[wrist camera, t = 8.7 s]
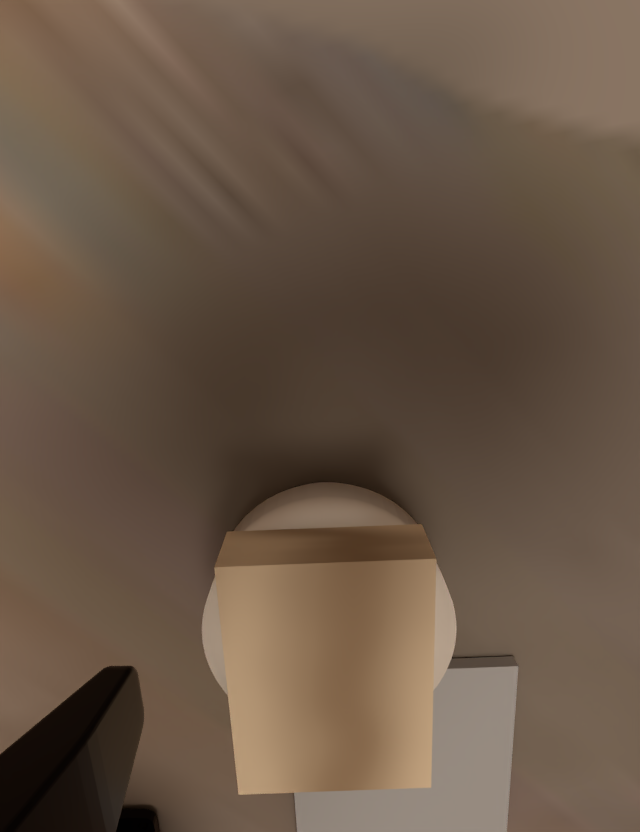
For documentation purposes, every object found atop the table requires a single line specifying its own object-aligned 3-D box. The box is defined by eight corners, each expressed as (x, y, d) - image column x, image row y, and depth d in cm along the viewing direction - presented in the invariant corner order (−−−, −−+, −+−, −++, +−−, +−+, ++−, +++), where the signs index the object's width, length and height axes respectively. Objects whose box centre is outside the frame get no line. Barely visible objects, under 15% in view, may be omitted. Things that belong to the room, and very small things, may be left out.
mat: (298, 834, 25) (298, 847, 24) (286, 664, 22) (285, 675, 22) (501, 827, 25) (506, 840, 24) (513, 656, 22) (518, 666, 22)
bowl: (235, 651, 22) (214, 744, 18) (216, 472, 20) (187, 527, 16) (426, 644, 22) (454, 735, 18) (429, 463, 20) (460, 516, 16)
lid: (247, 738, 18) (238, 794, 16) (226, 531, 16) (214, 567, 14) (418, 732, 18) (430, 787, 16) (421, 524, 16) (435, 558, 14)
